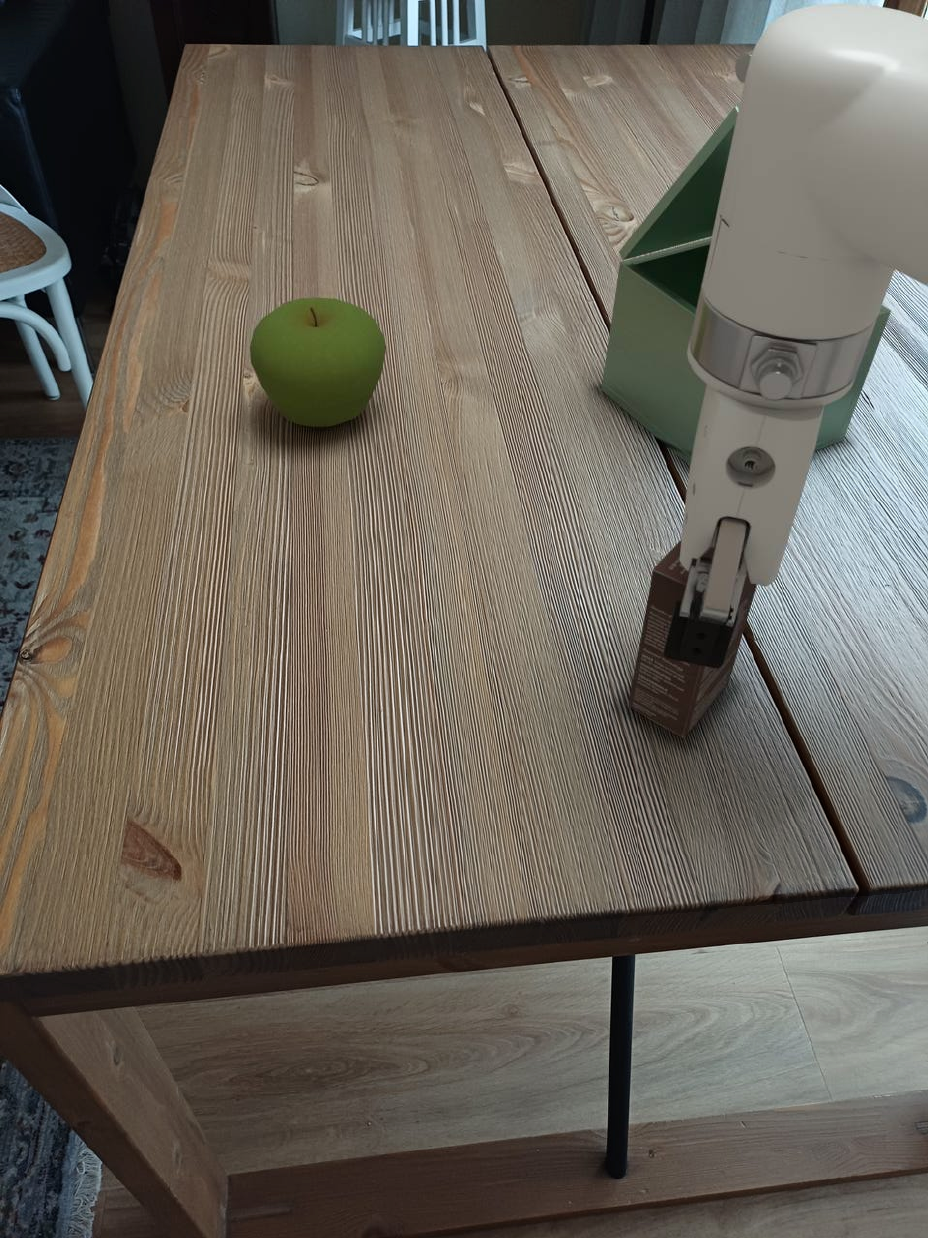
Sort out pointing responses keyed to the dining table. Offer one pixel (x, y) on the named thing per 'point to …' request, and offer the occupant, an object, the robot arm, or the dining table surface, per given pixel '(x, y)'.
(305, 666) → the dining table surface
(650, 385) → the trash can
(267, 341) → the apple
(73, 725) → the dining table surface
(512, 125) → the dining table surface
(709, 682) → the box
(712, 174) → the bin lid
